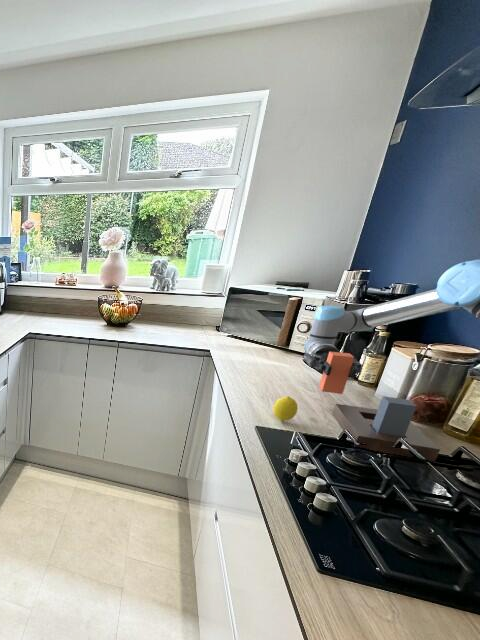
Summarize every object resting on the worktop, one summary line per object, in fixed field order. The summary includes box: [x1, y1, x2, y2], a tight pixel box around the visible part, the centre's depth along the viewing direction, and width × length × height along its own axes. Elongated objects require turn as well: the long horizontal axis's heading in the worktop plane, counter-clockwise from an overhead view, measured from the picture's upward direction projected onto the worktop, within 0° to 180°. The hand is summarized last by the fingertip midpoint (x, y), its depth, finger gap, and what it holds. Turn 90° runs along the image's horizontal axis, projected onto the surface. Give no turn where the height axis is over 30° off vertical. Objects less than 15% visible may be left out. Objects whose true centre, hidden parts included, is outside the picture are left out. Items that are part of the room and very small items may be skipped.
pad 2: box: [372, 395, 417, 437], centre depth 104 cm, size 5×5×12 cm
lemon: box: [272, 395, 298, 422], centre depth 118 cm, size 6×6×8 cm
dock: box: [331, 403, 441, 463], centre depth 110 cm, size 15×25×4 cm, turn 149°
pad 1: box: [318, 351, 355, 395], centre depth 125 cm, size 5×5×12 cm
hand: (341, 372), depth 120 cm, fingers closed on pad 1, 5 cm apart
